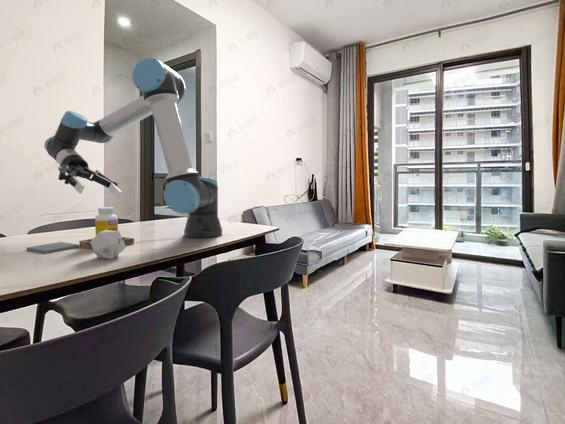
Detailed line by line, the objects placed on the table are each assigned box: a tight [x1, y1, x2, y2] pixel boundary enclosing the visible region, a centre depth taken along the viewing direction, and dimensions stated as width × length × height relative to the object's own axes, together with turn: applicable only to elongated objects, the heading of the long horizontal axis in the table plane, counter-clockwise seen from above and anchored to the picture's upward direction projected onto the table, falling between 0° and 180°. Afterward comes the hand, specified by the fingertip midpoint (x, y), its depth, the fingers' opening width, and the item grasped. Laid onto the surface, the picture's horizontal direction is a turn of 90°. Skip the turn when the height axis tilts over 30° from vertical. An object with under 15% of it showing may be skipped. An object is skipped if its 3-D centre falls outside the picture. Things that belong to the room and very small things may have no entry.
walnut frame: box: [78, 236, 135, 250], centre depth 105 cm, size 12×12×2 cm
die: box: [90, 230, 127, 260], centre depth 89 cm, size 8×9×10 cm
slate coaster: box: [26, 241, 80, 254], centre depth 99 cm, size 10×10×1 cm
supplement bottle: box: [94, 206, 119, 236], centre depth 104 cm, size 7×7×13 cm
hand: (102, 192), depth 106 cm, fingers open, 13 cm apart
